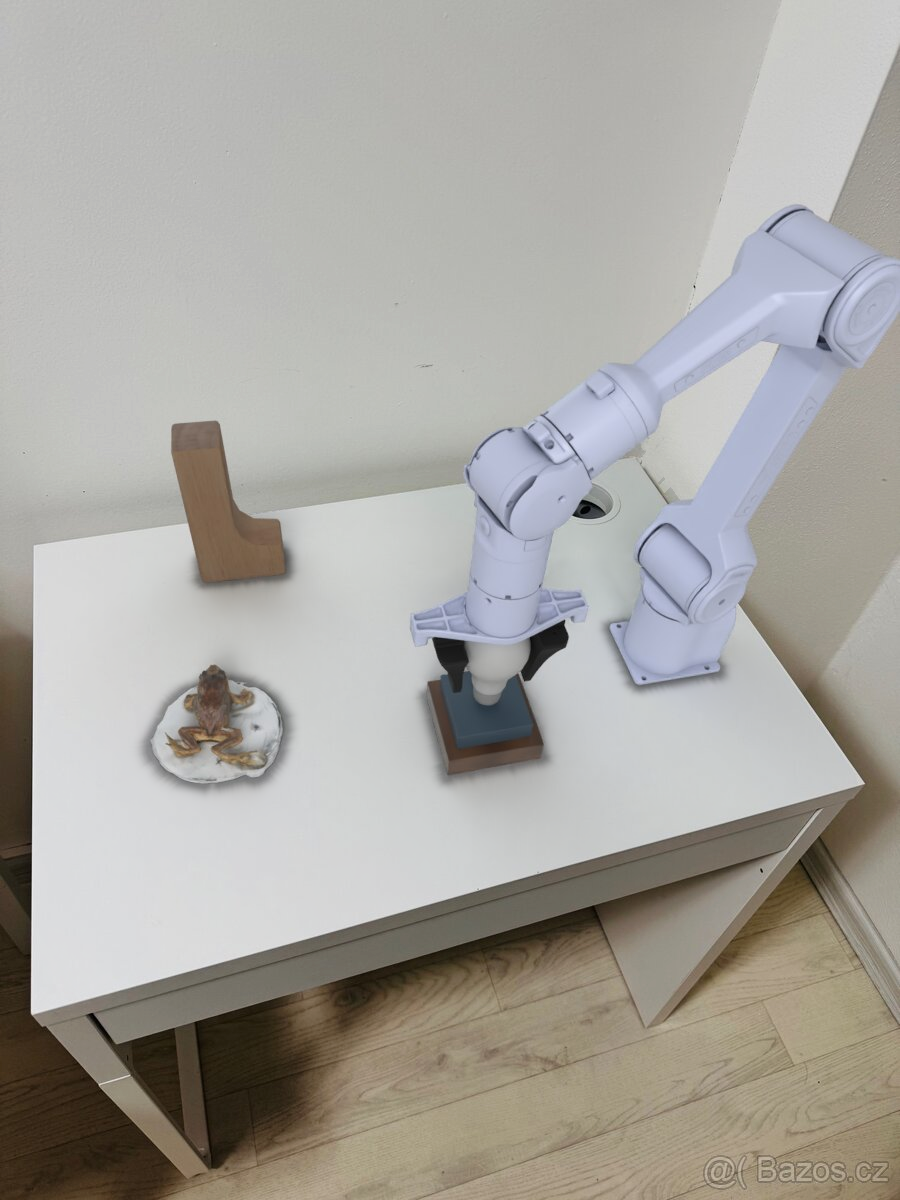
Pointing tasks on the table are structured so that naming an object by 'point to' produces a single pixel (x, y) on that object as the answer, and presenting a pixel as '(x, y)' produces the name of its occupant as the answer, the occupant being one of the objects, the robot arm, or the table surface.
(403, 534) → the table surface
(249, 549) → the wooden block
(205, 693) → the frog figurine
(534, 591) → the robot arm
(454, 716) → the top block
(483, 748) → the base block
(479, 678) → the lightbulb
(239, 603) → the table surface
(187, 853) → the table surface
